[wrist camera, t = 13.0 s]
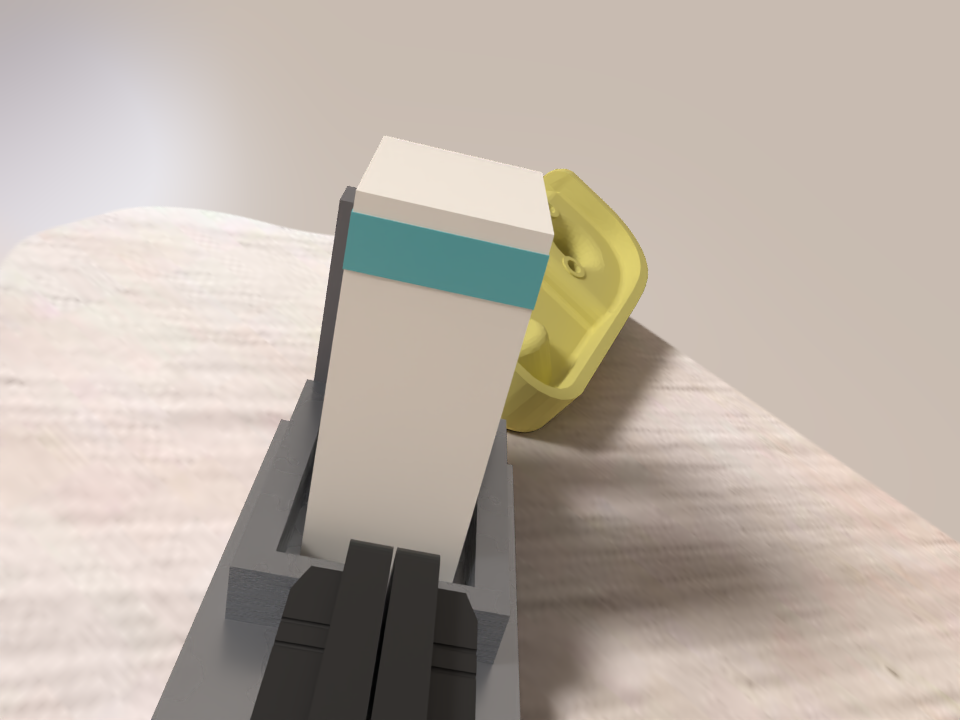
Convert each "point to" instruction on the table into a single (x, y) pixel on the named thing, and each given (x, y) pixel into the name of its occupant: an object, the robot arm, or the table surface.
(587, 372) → the plastic component
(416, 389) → the block
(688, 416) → the table surface
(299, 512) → the rail plate
